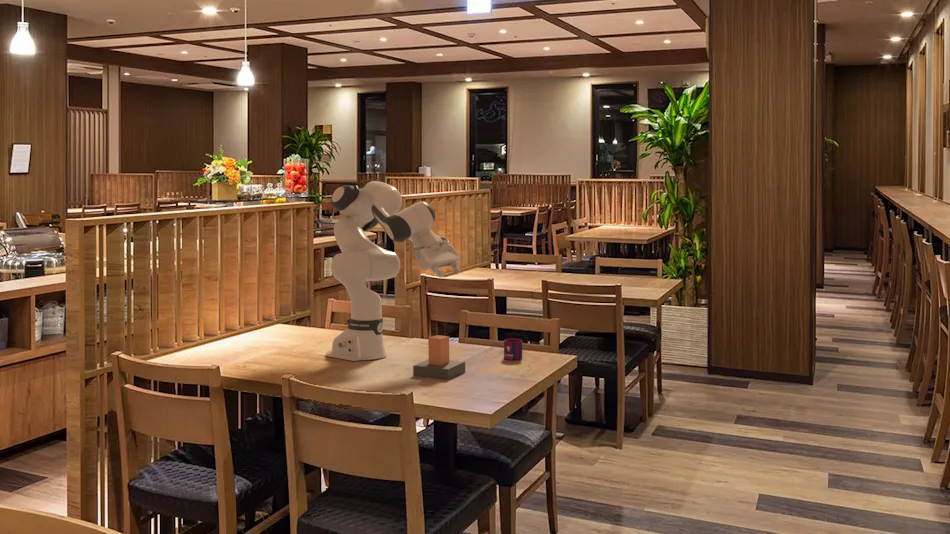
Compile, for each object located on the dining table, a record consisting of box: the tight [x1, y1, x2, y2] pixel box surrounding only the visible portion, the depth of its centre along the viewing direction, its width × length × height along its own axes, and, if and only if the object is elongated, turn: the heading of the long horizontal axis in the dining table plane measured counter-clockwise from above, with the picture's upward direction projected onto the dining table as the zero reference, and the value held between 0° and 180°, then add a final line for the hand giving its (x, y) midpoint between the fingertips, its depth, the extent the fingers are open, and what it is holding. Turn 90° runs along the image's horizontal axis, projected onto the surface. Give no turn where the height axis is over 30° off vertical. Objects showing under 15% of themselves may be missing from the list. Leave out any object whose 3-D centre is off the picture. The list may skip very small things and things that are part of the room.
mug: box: [503, 338, 523, 362], centre depth 318 cm, size 7×10×7 cm
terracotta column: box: [427, 334, 450, 366], centre depth 292 cm, size 5×5×9 cm
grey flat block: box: [412, 358, 466, 381], centre depth 292 cm, size 13×13×4 cm
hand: (450, 274), depth 311 cm, fingers open, 8 cm apart
